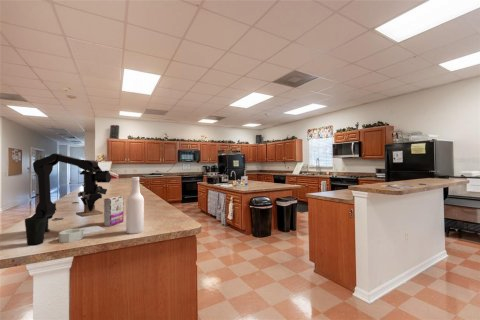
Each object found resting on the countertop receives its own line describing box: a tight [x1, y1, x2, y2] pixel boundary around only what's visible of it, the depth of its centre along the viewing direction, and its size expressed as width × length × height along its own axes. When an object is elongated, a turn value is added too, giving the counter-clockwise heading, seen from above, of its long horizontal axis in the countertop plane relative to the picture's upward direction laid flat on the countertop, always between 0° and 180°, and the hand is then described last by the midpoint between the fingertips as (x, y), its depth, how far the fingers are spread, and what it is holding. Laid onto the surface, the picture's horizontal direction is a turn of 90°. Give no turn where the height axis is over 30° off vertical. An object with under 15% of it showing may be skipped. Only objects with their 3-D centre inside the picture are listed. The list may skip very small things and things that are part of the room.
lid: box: [75, 204, 104, 218], centre depth 126 cm, size 10×10×5 cm
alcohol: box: [125, 176, 145, 235], centre depth 124 cm, size 9×9×30 cm
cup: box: [24, 216, 47, 247], centre depth 105 cm, size 8×8×12 cm
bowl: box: [57, 228, 84, 244], centre depth 111 cm, size 9×9×4 cm
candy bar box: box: [103, 195, 124, 227], centre depth 141 cm, size 11×5×16 cm, turn 168°
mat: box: [78, 224, 107, 236], centre depth 126 cm, size 14×12×1 cm
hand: (89, 210), depth 126 cm, fingers closed on lid, 4 cm apart
